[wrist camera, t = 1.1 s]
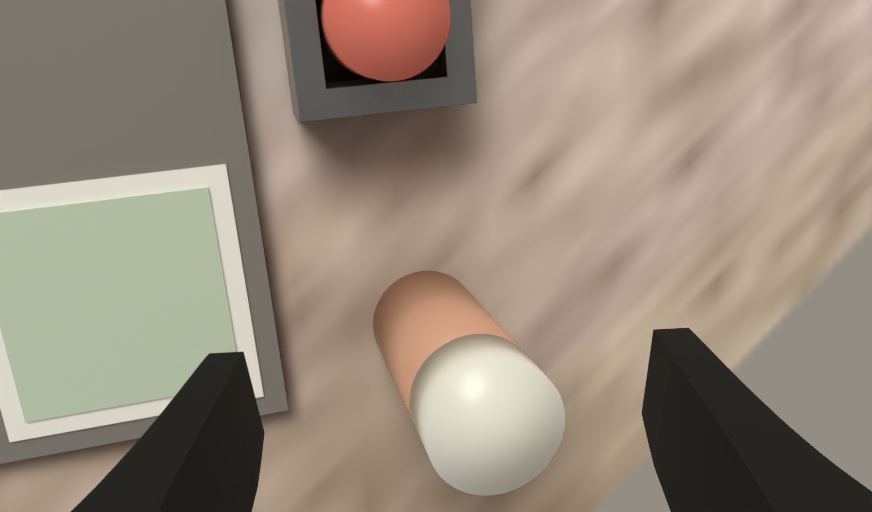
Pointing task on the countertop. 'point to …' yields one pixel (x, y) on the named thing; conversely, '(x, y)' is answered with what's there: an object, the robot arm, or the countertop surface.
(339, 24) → the button
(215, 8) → the grey rectangular board
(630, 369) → the countertop surface
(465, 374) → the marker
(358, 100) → the button base
